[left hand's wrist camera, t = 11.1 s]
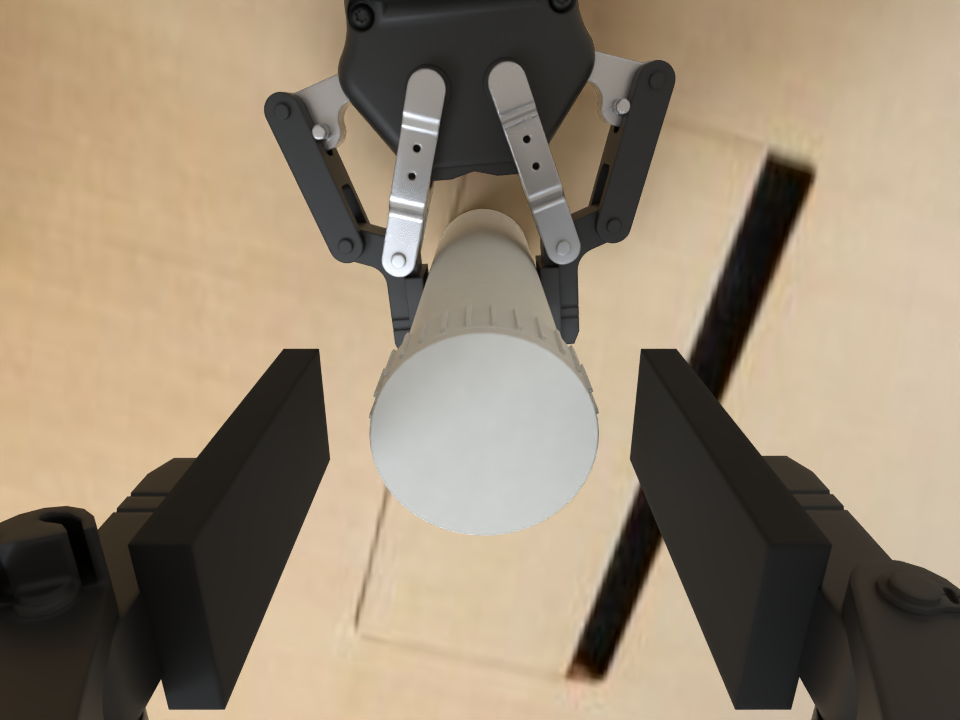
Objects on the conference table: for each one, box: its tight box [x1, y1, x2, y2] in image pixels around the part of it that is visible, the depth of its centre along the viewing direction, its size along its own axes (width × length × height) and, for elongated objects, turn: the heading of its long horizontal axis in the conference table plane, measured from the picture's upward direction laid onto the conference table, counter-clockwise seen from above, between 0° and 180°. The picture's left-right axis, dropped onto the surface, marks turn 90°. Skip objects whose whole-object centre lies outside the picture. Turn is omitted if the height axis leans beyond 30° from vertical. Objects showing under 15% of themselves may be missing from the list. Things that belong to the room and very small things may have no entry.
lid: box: [369, 303, 599, 535], centre depth 14 cm, size 5×5×2 cm
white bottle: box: [410, 209, 556, 334], centre depth 22 cm, size 4×4×18 cm
